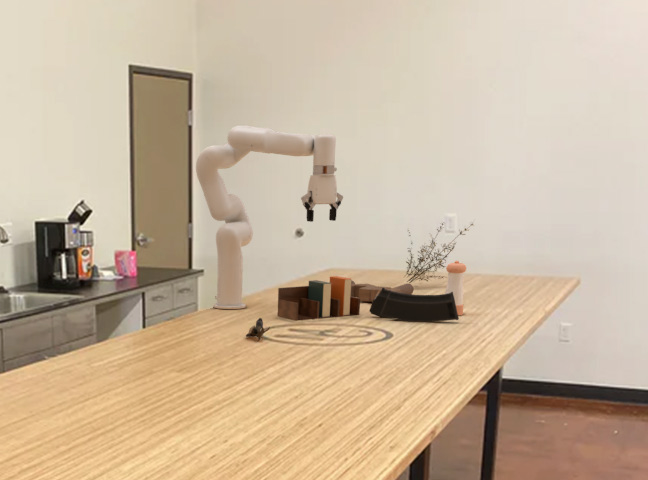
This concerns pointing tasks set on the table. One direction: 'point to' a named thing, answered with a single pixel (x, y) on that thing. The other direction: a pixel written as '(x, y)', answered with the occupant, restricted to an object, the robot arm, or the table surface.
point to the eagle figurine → (257, 330)
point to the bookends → (375, 290)
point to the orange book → (341, 293)
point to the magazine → (414, 306)
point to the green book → (320, 296)
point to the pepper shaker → (456, 283)
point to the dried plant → (430, 259)
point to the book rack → (308, 305)
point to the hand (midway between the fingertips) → (321, 220)
